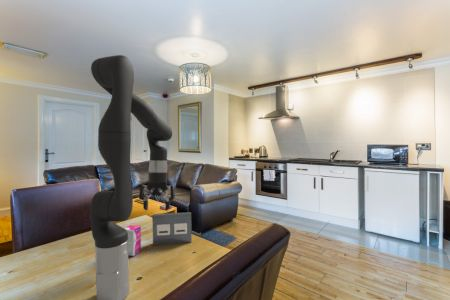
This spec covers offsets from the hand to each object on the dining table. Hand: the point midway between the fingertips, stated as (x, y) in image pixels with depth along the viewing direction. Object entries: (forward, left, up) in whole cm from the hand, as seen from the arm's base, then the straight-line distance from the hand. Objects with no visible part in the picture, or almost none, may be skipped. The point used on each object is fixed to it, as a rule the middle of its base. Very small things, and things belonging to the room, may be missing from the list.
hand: (156, 210), depth 95 cm
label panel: (+13, -5, -20) cm, 24 cm away
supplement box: (+5, +12, -20) cm, 24 cm away
